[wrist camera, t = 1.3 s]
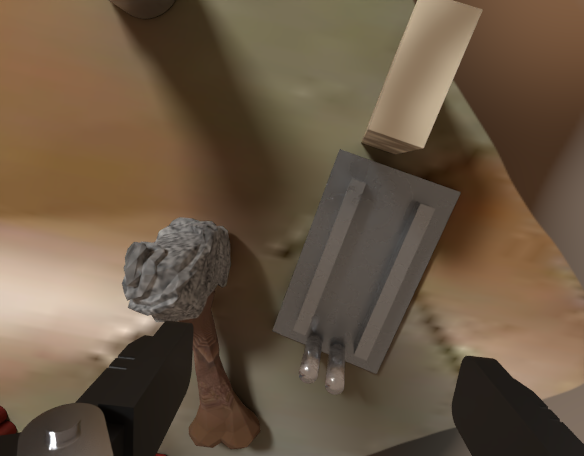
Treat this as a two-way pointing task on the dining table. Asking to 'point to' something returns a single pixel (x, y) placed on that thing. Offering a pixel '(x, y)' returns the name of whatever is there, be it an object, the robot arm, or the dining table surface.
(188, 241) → the hammer
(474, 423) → the robot arm
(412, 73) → the wooden block
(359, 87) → the dining table surface
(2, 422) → the dynamite
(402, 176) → the rail
